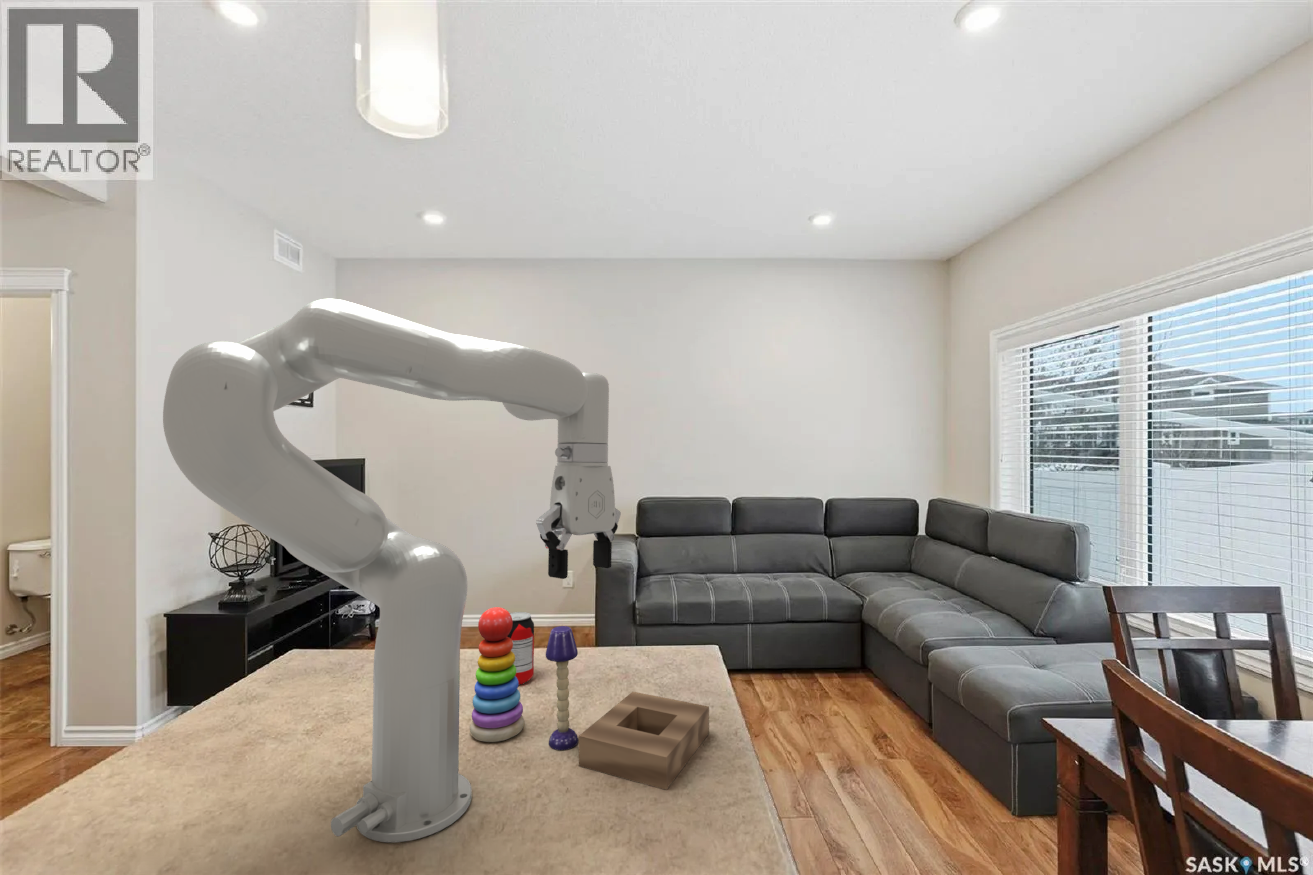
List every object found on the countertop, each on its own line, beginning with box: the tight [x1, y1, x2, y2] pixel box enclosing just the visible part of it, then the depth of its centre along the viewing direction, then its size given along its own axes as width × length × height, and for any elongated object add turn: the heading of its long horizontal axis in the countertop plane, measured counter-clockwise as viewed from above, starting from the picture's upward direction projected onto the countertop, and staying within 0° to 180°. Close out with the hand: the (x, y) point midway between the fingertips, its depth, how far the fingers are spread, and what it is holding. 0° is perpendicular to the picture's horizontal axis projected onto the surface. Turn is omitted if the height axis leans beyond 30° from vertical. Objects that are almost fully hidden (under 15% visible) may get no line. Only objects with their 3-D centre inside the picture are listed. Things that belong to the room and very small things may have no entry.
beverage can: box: [507, 611, 535, 685], centre depth 106 cm, size 6×6×12 cm
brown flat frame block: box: [578, 691, 710, 791], centre depth 81 cm, size 16×13×4 cm
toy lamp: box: [545, 625, 579, 751], centre depth 82 cm, size 5×5×17 cm
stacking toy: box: [469, 606, 525, 743], centre depth 86 cm, size 8×8×19 cm
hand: (581, 572), depth 83 cm, fingers open, 9 cm apart
